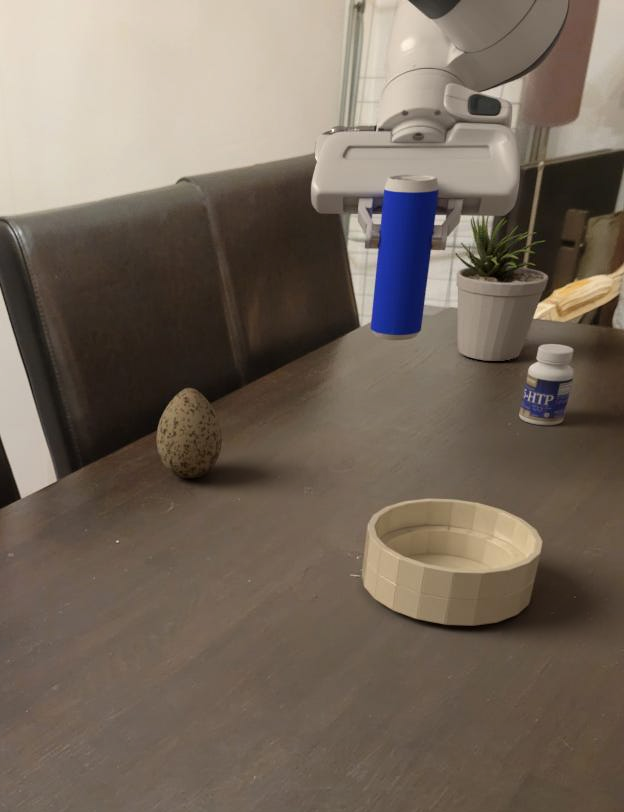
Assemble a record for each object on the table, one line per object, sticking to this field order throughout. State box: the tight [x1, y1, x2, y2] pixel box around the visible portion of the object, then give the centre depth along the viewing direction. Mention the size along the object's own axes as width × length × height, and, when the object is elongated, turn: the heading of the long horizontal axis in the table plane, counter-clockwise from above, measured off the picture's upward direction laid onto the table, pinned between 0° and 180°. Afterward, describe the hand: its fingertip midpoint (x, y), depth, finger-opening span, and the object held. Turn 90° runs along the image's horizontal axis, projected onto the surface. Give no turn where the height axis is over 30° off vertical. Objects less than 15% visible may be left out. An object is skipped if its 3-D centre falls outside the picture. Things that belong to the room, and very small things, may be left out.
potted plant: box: [455, 215, 549, 361], centre depth 139 cm, size 13×14×20 cm
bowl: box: [361, 498, 544, 627], centre depth 83 cm, size 14×14×6 cm
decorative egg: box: [156, 387, 223, 479], centre depth 104 cm, size 7×7×10 cm
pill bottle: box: [518, 343, 575, 426], centre depth 118 cm, size 5×5×9 cm
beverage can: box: [370, 175, 439, 341], centre depth 97 cm, size 5×5×15 cm
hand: (405, 246), depth 95 cm, fingers closed on beverage can, 5 cm apart
